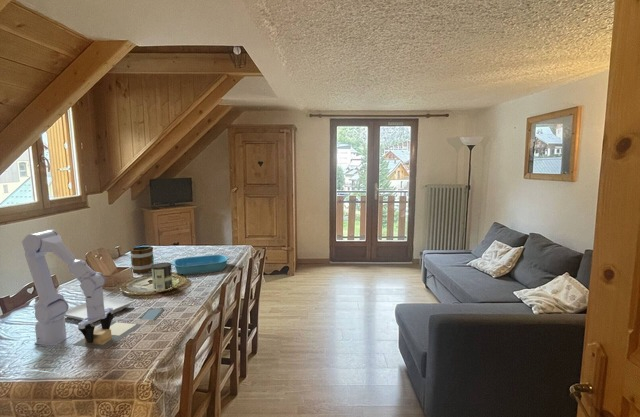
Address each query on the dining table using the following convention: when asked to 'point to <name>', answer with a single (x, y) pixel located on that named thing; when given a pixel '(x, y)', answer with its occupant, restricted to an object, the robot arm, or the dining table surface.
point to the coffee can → (162, 276)
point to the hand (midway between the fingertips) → (98, 337)
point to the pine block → (101, 336)
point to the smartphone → (152, 314)
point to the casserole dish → (200, 264)
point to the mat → (117, 333)
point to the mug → (142, 259)
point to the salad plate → (116, 304)
